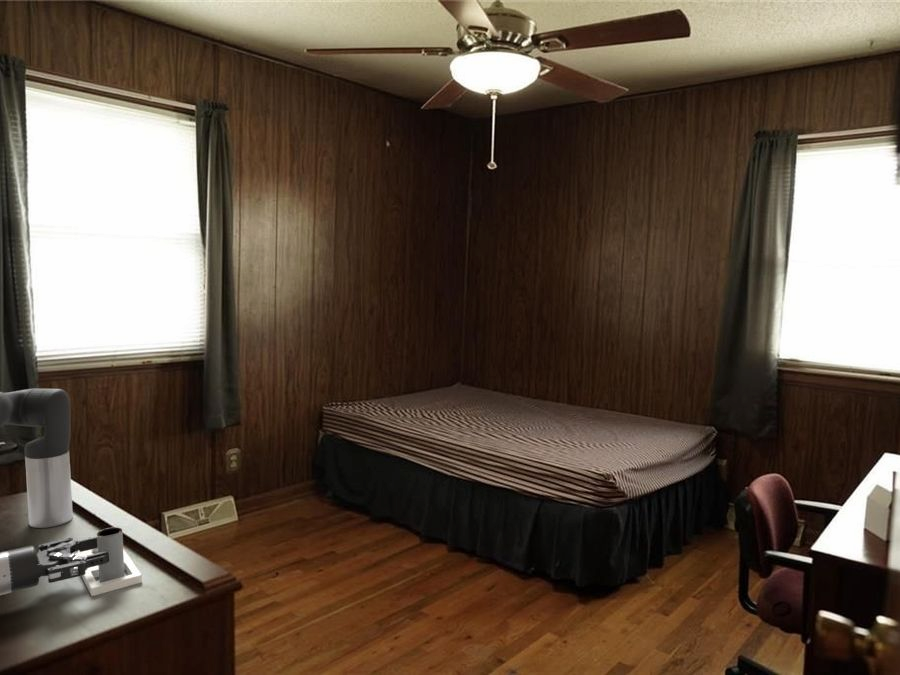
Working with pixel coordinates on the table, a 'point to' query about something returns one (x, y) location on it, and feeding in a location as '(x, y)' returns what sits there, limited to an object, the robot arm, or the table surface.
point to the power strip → (110, 585)
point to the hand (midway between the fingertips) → (104, 548)
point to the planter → (111, 553)
